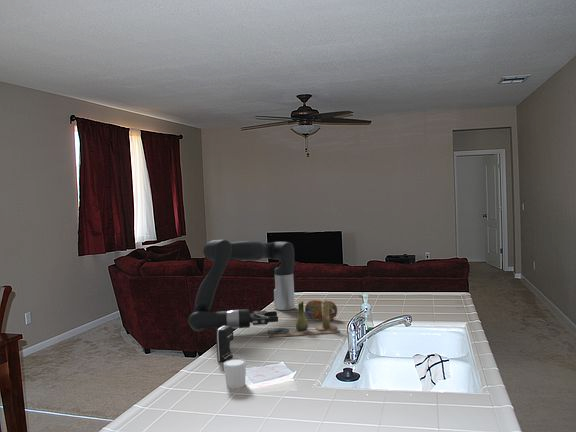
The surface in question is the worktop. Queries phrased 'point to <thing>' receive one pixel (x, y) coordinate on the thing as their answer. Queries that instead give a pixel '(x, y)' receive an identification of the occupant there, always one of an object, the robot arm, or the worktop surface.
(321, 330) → the brown long irregular piece
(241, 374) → the white cup
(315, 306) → the tin
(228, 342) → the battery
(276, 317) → the robot arm
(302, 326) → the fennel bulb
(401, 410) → the worktop surface
